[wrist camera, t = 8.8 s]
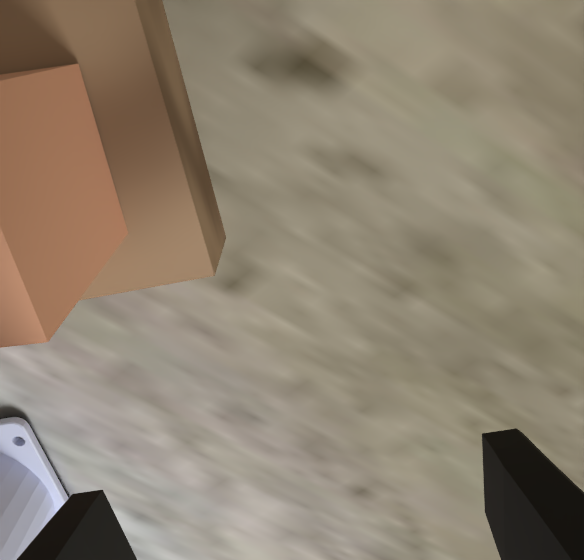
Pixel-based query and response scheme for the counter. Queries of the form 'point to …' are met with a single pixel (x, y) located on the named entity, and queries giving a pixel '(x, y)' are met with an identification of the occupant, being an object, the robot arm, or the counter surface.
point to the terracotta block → (50, 201)
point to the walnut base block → (130, 130)
